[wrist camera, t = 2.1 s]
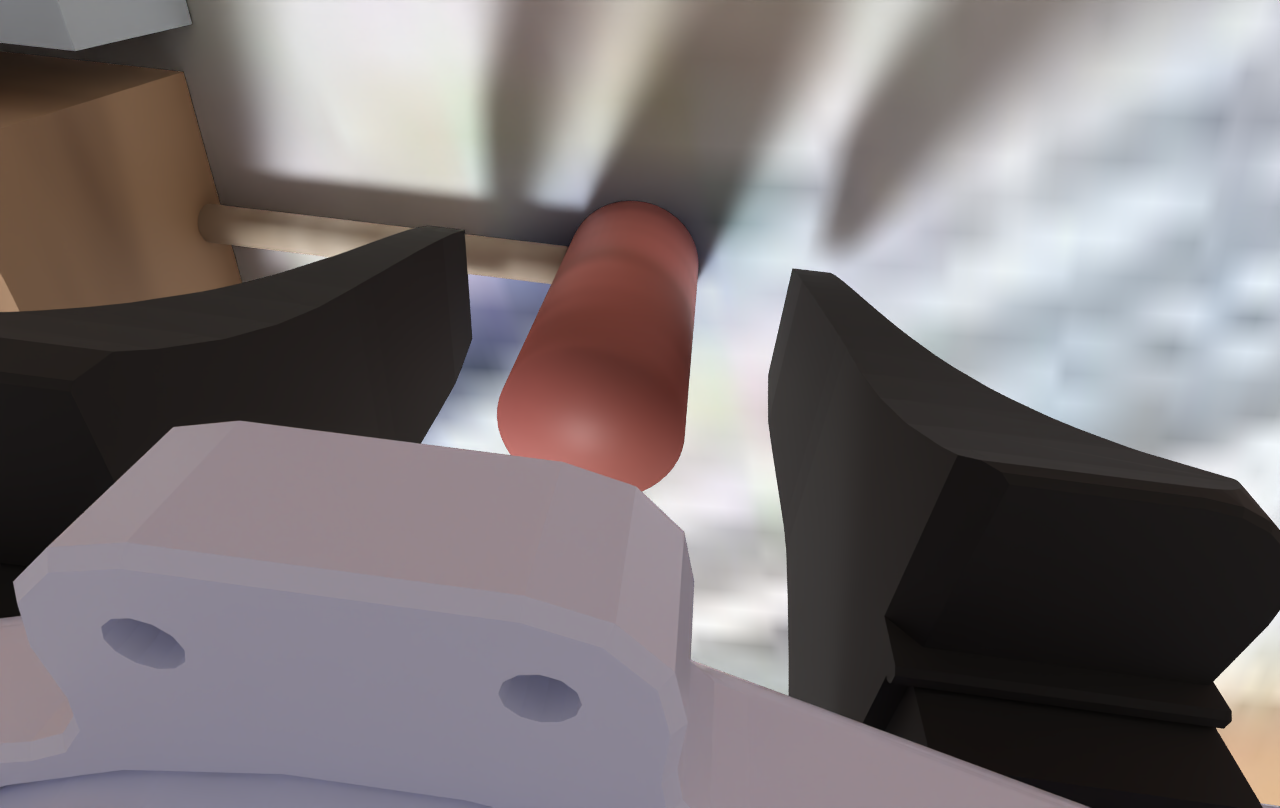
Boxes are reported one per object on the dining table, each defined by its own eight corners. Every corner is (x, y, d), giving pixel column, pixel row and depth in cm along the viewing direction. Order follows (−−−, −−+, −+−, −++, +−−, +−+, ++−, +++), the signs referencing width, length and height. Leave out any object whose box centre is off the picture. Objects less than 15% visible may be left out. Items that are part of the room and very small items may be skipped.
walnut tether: (25, 301, 15) (-237, 451, 11) (-102, 39, 12) (-527, 110, 8) (681, 383, 14) (663, 572, 10) (717, 132, 11) (712, 257, 7)
